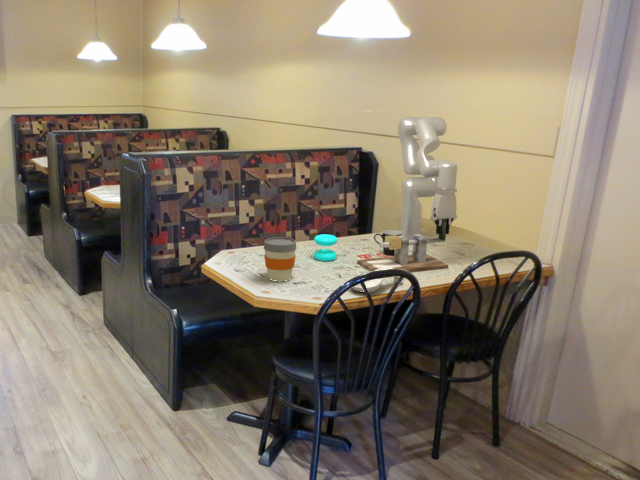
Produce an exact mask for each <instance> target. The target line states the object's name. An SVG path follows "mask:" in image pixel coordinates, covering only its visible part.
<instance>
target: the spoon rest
mask: <svg viewBox="0 0 640 480" xmlns="http://www.w3.org/2000/svg"><path fill="white" fill-rule="evenodd" d="M387 269H393V268H391V267H382V268H380V269H377V270H374V271H378V270H387ZM384 279H385V278H382V279H375V280H370V281H367V282H365V285H366V288H367V289H368V291H369V292H370V293H369V294H371V292H372V293H373V291H374V292H375V291H376V290H377V289H378V288H380V286H381V284H382V283H383V281H384ZM398 279H399V277H394V276H393V281H394V282H395V283H397V282H396V281H397V280H398ZM401 284H402V285H403V284H404V281H402V283H401ZM352 289H353V290H354V291H355V290H357V291H356V292H358V291H362V292H363V289H362V287H357V286H355V287H353V288H352Z"/></svg>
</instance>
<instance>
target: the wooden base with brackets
mask: <svg viewBox="0 0 640 480" xmlns="http://www.w3.org/2000/svg"><path fill="white" fill-rule="evenodd" d="M398 237H400V238H402V244H401V249H395V252H394V256H385V257H384V256H383V257H374V258H366V259H365V258H363V259H357V260H356V264H357V265H359V267H362V268H364V269H365V270H368V271H369V272H370V271H374V270H377V269H380V268H382V267H391V268H393V269H404V270H407V271H409V273H415V272H416V273H417V272H425V271H426V272H427V271H432V270H433V271H434V270H443V269H449V264H448V263H445V262H443V261H441V260H439V259H438V258H436V257H433V256H431V255H429V254H427V249H428V248H427V247H428V243H427V239H428V237H427V236H425V235H422V234H421V233H420V234H416V235H414V237H413V240H417V239H419V244H414V245H412V252H411V254H409V246H410V245H409V239H408V238H406V237H403V236H398Z"/></svg>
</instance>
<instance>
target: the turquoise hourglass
mask: <svg viewBox="0 0 640 480" xmlns="http://www.w3.org/2000/svg"><path fill="white" fill-rule="evenodd" d="M313 238H314V239H313V241H314V243H315V244H317V245H318V246H321V247H331V246H335V245H336V244H337V242H338V238H337V236H335V235H333V234H327V233H326V234H325V233H324V234H318V235H316V236H314V237H313ZM337 257H338V256H337V253H336V252H335V251H334V250H333V249H328V248H321V249H318V250H317V249H316V250H315V251H314V253H313V258H314V259H315V260H317V261H320V262H331V261H334V260H336V259H337Z"/></svg>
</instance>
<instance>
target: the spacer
mask: <svg viewBox="0 0 640 480" xmlns="http://www.w3.org/2000/svg"><path fill="white" fill-rule="evenodd" d="M385 242H388V243H390V245H389V249H390V250H395V249H401V244H402V238H400V237H398V236H396V235H391V236H385Z"/></svg>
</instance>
